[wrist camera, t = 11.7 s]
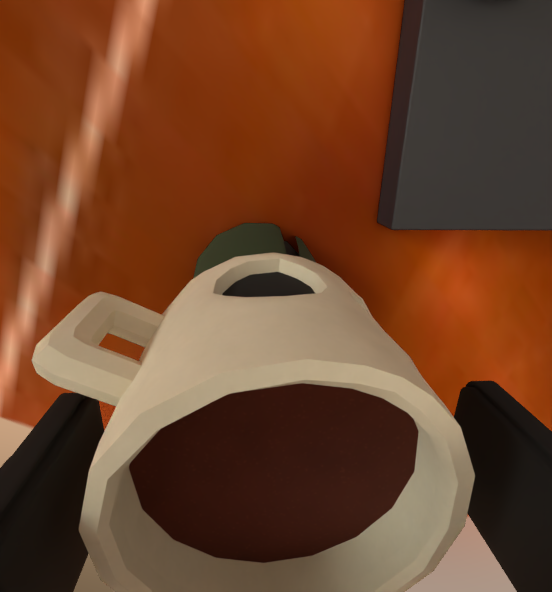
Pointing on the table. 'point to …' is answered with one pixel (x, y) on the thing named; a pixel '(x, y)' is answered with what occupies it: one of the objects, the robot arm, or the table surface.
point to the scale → (471, 118)
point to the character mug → (260, 434)
